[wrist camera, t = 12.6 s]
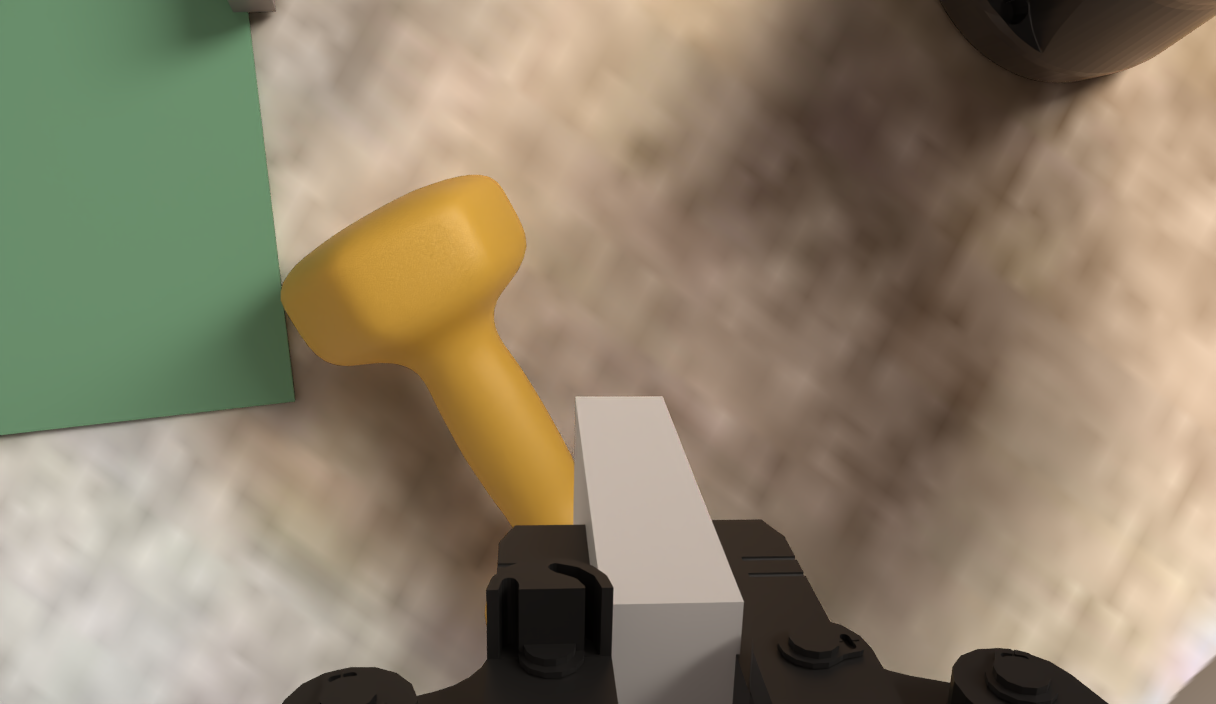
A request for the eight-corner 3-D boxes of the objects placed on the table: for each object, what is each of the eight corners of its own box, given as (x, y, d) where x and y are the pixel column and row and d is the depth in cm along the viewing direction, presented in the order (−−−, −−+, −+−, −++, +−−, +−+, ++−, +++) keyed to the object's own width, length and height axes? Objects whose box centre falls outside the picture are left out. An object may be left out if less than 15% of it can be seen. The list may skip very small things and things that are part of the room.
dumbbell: (270, 267, 37) (248, 275, 29) (473, 159, 39) (504, 139, 31) (505, 652, 41) (542, 748, 33) (680, 540, 43) (754, 607, 35)
